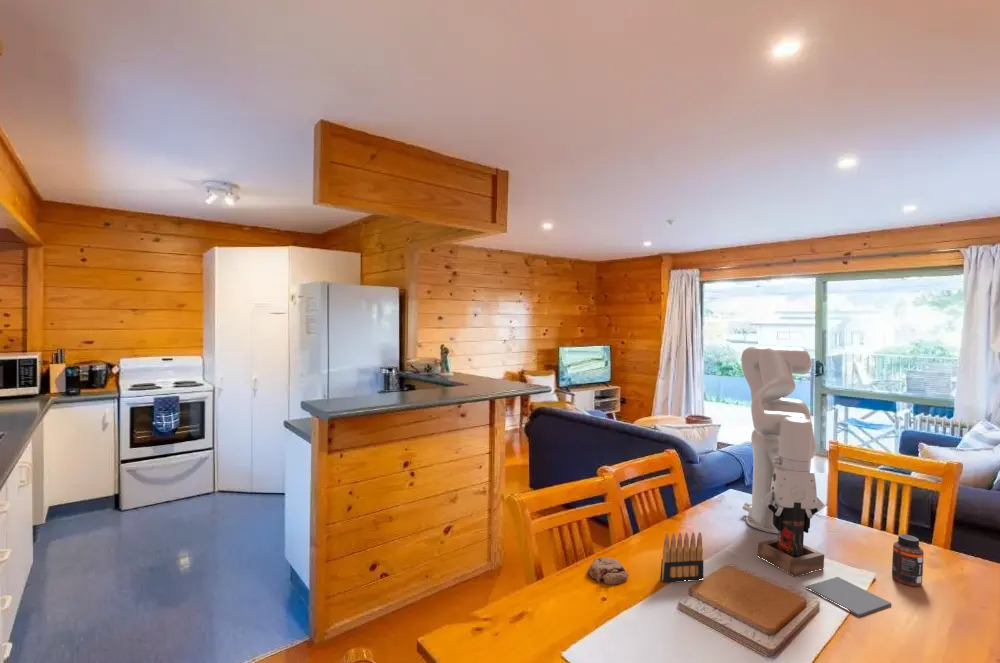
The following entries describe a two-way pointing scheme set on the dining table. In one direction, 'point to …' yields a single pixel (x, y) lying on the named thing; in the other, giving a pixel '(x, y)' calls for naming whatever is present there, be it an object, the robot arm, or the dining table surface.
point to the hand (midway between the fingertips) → (790, 529)
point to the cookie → (608, 571)
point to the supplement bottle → (907, 561)
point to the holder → (791, 558)
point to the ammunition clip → (682, 559)
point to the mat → (849, 596)
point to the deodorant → (792, 531)
